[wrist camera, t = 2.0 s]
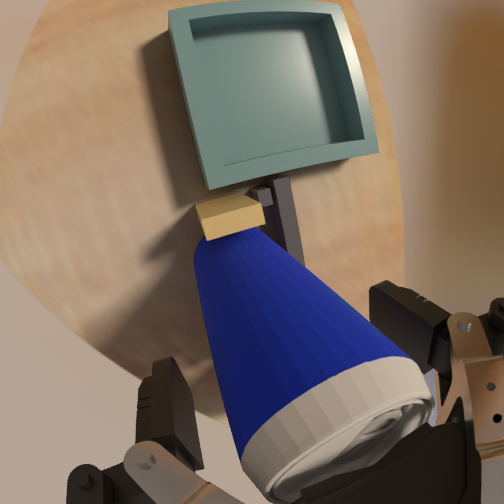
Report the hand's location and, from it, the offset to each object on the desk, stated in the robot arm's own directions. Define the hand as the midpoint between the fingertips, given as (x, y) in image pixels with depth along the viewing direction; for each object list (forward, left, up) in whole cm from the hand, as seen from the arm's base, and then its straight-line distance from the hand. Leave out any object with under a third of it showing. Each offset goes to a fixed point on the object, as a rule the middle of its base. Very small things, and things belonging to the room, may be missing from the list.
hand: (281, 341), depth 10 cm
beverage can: (0, 0, -9) cm, 9 cm away
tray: (-11, +5, -9) cm, 15 cm away
